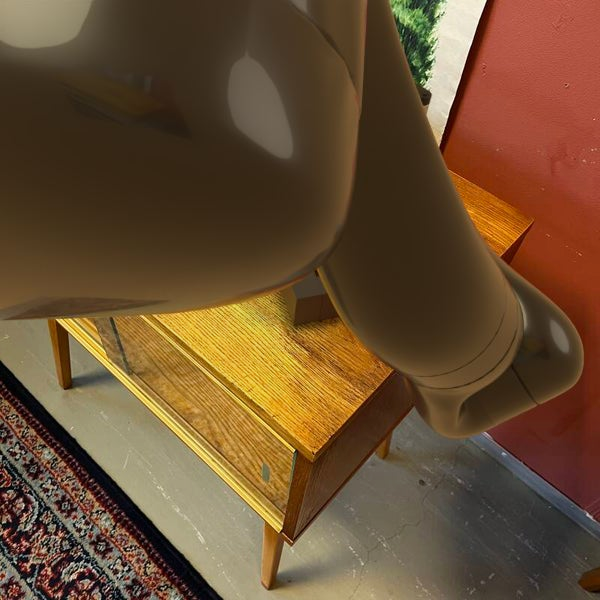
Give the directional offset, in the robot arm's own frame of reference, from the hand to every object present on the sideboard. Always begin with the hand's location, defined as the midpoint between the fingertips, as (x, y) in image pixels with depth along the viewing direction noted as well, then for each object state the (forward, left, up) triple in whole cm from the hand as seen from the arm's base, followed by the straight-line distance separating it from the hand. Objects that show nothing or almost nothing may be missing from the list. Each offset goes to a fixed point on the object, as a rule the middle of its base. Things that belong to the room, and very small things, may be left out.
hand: (321, 50), depth 59 cm
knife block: (0, -5, -27) cm, 28 cm away
